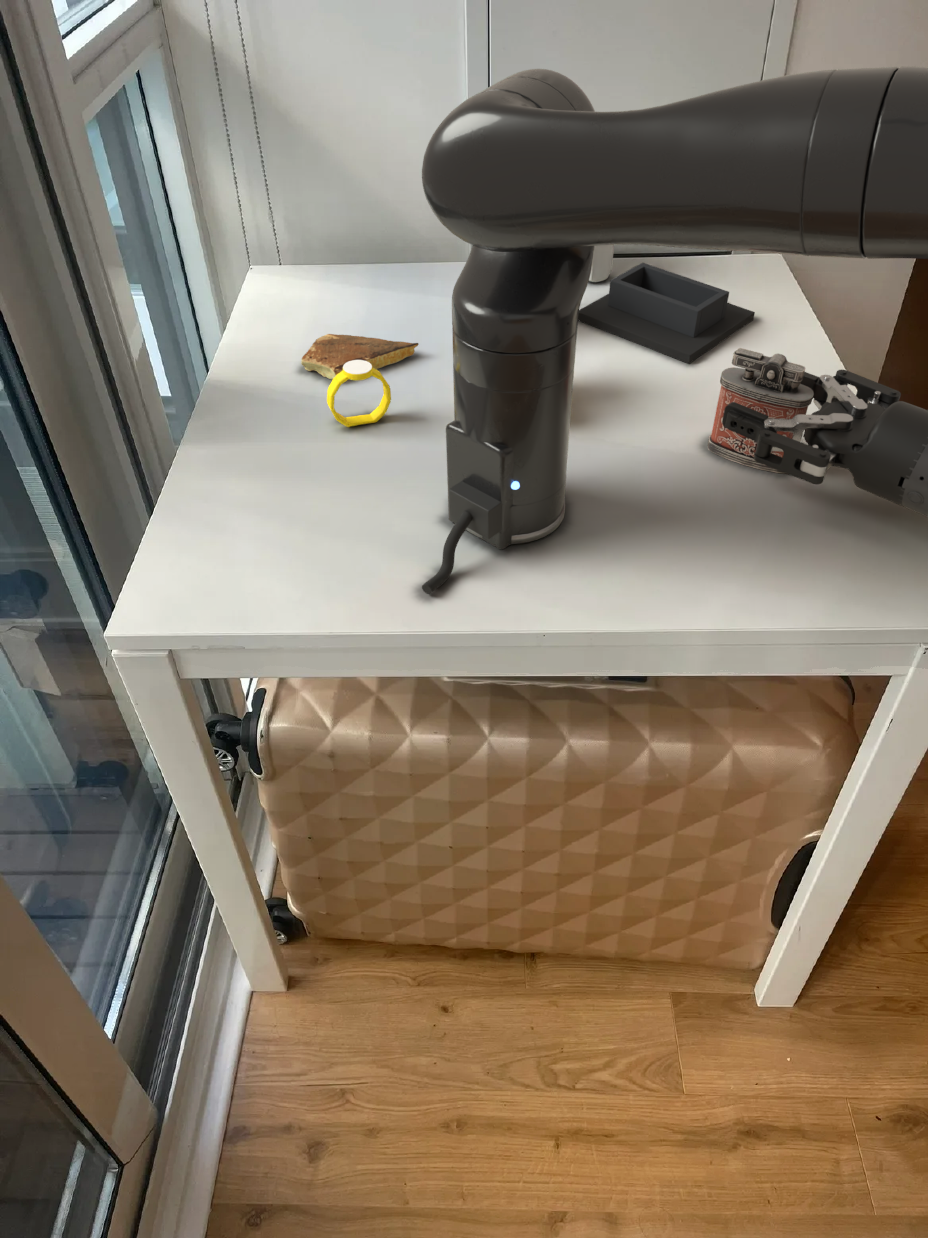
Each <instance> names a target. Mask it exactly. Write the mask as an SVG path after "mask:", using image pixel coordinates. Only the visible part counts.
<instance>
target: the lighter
mask: <svg viewBox="0 0 928 1238" xmlns="http://www.w3.org/2000/svg"><path fill="white" fill-rule="evenodd" d="M731 365H732V366H734V367H728V368H725V369H723V370H722V371H721V375H720V379H719V384H720V390H719V394H718V399H717V405H716V410H715V415H714V419H713V425H712V429H711V434H709V436H708V440H707V445H706V446H707V450H708V451H709V452H710V453H712V454H714V455H717V456H719V457H721V458H724V459H726V460H728V461H731V462H734V463H737V464H740V465H743V466H746V467H750V468H754V469H757V470H762V471H766V472H770V473H771V472H772V473H776V474H785V473H784V472H782V471H779V470H777V469H774V468H771V467H769V466H766V465H764V464H761V463H759V462H756V461H755V460H754V455H755V451H756V447H757V443H756V442H755V441H754V440H751V439H749V438H747V437H744V436H742V435H740V434H737V433H735V432H733V431H730V430H728V429H727V428H725V427H724V426H723V424H722V419H723V415H724V410H725V407H726V406H727V405H728V404H730V403H731V402H735V403H738V404H740V405H743V406H745V407H748V408H750V409H753V410H755V411H757V412H760V413H762V414H765V415H767V416H769V417H768V419H769V418H773V419H792V418H793V417H794V416H795V415H798V414H804V415H807V413H808V408H809V406H810V405H811V404H812V402H813V399H814V398H813V395H814V392H813V390H812V389H811V388H809V387H807V386H805V385H802V384H801V381H802V379H803V376H804V372H806V366H805V365H801V364H798V363H794V362H791V361H788V359H787V356H785V355H784V354H781V353H774V354H773V355H772V356H767V355H764V353H761V352H758V351H755V350H751V349H746V348H744V347H743V348H742V347H739V348H736V350H734V352H733V354H732V360H731ZM812 398H813V399H812ZM777 433H778V434H780V435H783V436H786V437H788V436H789V433H790V432H782V431H777ZM771 453H772V454H775V455H777V456H780V457H782V458H783V454H784V452H778V451H771Z"/></svg>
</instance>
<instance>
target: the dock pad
mask: <svg viewBox="0 0 928 1238" xmlns="http://www.w3.org/2000/svg"><path fill="white" fill-rule="evenodd" d="M729 296H730V291H728V290H726V289H723V288H720V287H716V286H713V285H711V284H708V283H705V282H701V281H699V280H696V279H692V278H690V277H686V276H685V275H682V274H678V273H675V272H672V271H670V270H666V269H663V268H660V267H657V266H654V265H651V264H648V263H645V262H641V263H639V264H637V265H636V266H634V267H631V268H630V269H628V270H626V271H625V272H623V273H621V274H619V275H618V276H616V277H614V278H612V279H610V281H609V290H608V293H607V294H606V295H604V296H601V297H600V298H598V299H596V300H594V301H593V302H591V303H590V304H588V305H585V306H584V307H582V308H581V309H580V308H579V314H578V322H581V323H583V324H586V325H588V326H591V327H594V328H597V329H599V330H601V331H604V332H606V333H609V334H611V335H614V336H617V337H620V338H622V339H625V340H627V341H630V342H633V343H635V344H637V345H639V346H642V347H645V348H648V349H649V350H653V351H655V352H658V353H661V354H663V355H665V356H668V357H671V358H673V359H676V360H677V361H681V362H683V363H685V364H689V365H690V363H692V362H694V361H695V360H697V359H698V358H700V357H701V356H703V355H704V354H706V353H707V352H708V351H710V350H712V349H713V348H714V347H716V346H717V345H719V344H720V343H723V341H725V340H726V339H728V338H729V337H731V336H732V335H734V334H735V333H736V332H738V331H739V330H741V329H743V328H745V326H747V325H749V324H750V323H752V322H753V321H754V319H755V315H756V313H755V311H753V310H750V309H747V308H744V307H741V306H738V305H736V304H733V303H731V302H728V301H729Z"/></svg>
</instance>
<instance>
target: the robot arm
mask: <svg viewBox="0 0 928 1238" xmlns="http://www.w3.org/2000/svg"><path fill="white" fill-rule="evenodd" d="M421 183H422V188H423V193H424V196H425V199H426V201H427V203H428V206H429V207H430V210H431V212H432V213H433V215H434V216H435V217H436V218H437V219H438V221H439V222H440V223H441V225H442V226H444V227H445V229H447V230H448V231H449V232H450V233H451V234H452V235H454V236H456V237H457V238H459V239H460V240H461V241H463V242H465V243H467V244H469V245H471V250H470V252H469V255H468V257H467V260H466V262H465V264H464V266H463V267H462V269H461V272H460V274H459V276H458V278H457V279H456V282H455V284H454V286H453V289H452V294H451V325H452V326H451V327H452V329H451V330H452V331H451V332H452V373H453V375H452V376H453V413H454V416H453V417H454V418H453V419H454V420H452V421H450V422H448V424H447V425H446V426H445V445H446V446H445V447H446V477H447V478H446V479H447V480H446V481H447V507H448V508H447V509H448V521H450V522H452V523H453V524H454V525H453V526H452V528H451V530H450V531H449V533H448V535H447V538H446V539H445V541H444V545H443V549H442V562H441V566H440V568H439V570H438V571H437V573H436V574H435V575H434V576H432V577H431V578H429V579H428V580H426V582H424V583H423V584H422V585H421V589H422V591H423V592H424V593H425V594H426V595H431V594H432V593H433V592H434V591H435V590H437V589H438V588H440V587H441V586H442V585H443V584H445V583H446V581H447V580H448V579H449V577H450V576H451V574H452V572H453V570H454V566H455V554H456V549H457V546H458V544H459V541H460V540H461V538H462V536H463V534H464V533H465V532H466V531H467V532H469V533H470V534H472V536H475V537H477V538H479V539H481V540H483V541H484V542H486V543H488V544H490V545H492V546H493V547H495V548H497V549H499V550H505V549H506V548H507V547H509V546H511V545H515V544H525V543H530V542H535V541H537V540H540V539H542V538H545V537H547V536H549V535H550V534H552V533H553V532H554V531H555V530H557V528H559V526H560V525H561V524H562V523H563V520H564V518H565V514H566V485H567V483H566V482H567V471H568V470H567V469H568V458H569V457H568V456H569V443H570V429H571V417H572V416H571V415H572V403H573V388H574V377H575V363H576V354H577V353H576V352H577V341H578V340H577V338H578V337H577V336H578V325H579V321H578V314H579V310H580V307H581V303H582V300H583V299H584V298H583V297H584V295H585V292H586V290H587V287H588V284H589V282H590V281H589V278H590V274H591V268H592V262H593V254H594V246H597V245H614V246H619V245H627V246H628V245H630V246H631V245H634V246H635V245H637V246H638V245H639V246H640V245H641V246H657V247H668V248H669V247H670V248H682V249H693V250H694V249H696V250H710V251H711V250H712V251H731V252H750V253H751V252H752V253H769V254H780V255H781V254H782V255H790V256H791V255H792V256H801V257H802V256H803V257H821V258H822V257H823V258H824V257H826V258H844V259H845V258H849V259H869V260H871V259H872V260H873V259H875V260H876V259H877V260H878V259H914V260H915V259H919V260H921V259H922V260H928V66H916V65H915V66H900V67H899V66H888V67H884V66H883V67H863V68H862V67H861V68H841V69H839V68H838V69H823V70H822V69H821V70H815V71H807V72H800V73H799V72H798V73H793V74H786V75H782V76H776V77H771V78H767V79H762V80H758V81H753V82H749V83H745V84H741V85H737V86H732V87H728V88H723V89H719V90H715V91H712V92H708V93H705V94H701V95H698V96H694V97H693V96H692V97H690V98H686V99H682V100H678V101H675V102H671V103H667V104H663V105H658V106H652V107H647V108H641V109H632V110H631V109H630V110H621V111H619V110H618V111H617V110H616V111H596V110H595V108H594V106H593V103H592V102H591V100H590V98H589V97H588V96H587V94H586V92H585V91H584V90H583V89H582V88H581V87H580V86H579V85H578V83H576V82H575V81H573V80H572V79H571V78H569V77H568V76H566V75H564V74H563V73H560V72H557V71H555V70H552V69H548V68H547V69H546V68H530V69H525V70H521V71H518V72H516V73H513V74H511V75H509V76H507V77H505V78H503V79H501V80H499V81H497V82H495V83H494V84H492V85H490V86H489V87H486V88H485V89H483V90H481V91H480V92H477V93H476V94H474V95H472V96H471V97H468V98H467V99H466V100H464V101H463V102H461V103H460V104H458V105H457V106H456V107H455V108H453V109H452V110H451V111H450V112H449V113H448V115H446V117H444V119H443V120H442V121H441V122H440V123H439V125H438V126H437V128H436V129H435V130H434V132H433V134H432V135H431V137H430V139H429V142H428V143H427V146H426V148H425V152H424V155H423V159H422V166H421ZM801 384H802V385H805V386H807V387H809V388H811V389H812V390H813V392H814V395H813V398H812V402H813V404H814V405H815V407H816V408H817V409H818V410H817V411H814V412H812V413H811V414H806V415H804V414H798V415H795V416H794V417H793V418H792V419H773V418H769V419H768V417H769V416H767V415H765V414H762V413H760V412H757V411H755V410H753V409H750V408H748V407H745V406H743V405H740V404H738V403H735V402H731V403H730V404H728V405H727V406H726V407H725V410H724V415H723V419H722V424H723V426H724V427H725V428H727V429H728V430H730V431H733V432H735V433H737V434H740V435H742V436H744V437H747V438H749V439H751V440H754V441H755V442H756V443H757V447H756V451H755V455H754V460H755V461H756V462H759V463H761V464H764V465H766V466H769V467H771V468H774V469H777V470H779V471H782V472H784V473H783V474H787V475H790V476H792V477H794V478H797V479H799V480H802V481H805V482H808V483H810V484H812V485H821V484H823V482H824V480H825V477H826V475H827V472H828V471H829V469H830V468H831V467H836V468H841V469H845V470H848V471H849V472H850V473H851V475H852V480H853V483H854V485H855V486H856V487H857V488H859V489H860V490H863V491H866V492H868V493H870V494H873V495H874V496H877V497H880V498H883V499H885V500H886V501H889V502H891V503H894V504H896V505H898V506H901V507H903V508H906V509H908V510H911V511H912V512H915V513H917V514H919V515H922V516H925V517H926V518H928V409H925V408H922V407H920V406H917V405H914V404H911V403H909V402H906V401H903V400H900V399H901V397H902V393H901V392H900V390H898V389H894V388H892V387H889V386H887V385H884V384H882V383H879V382H876V381H874V380H872V379H869V378H867V377H864V376H863V375H859V374H857V373H854V372H853V371H850V370H847V369H838V370H836V372H835V375H830V374H822V375H820V376H817V375H815V374H813V373H810V372H807V371H805V372H804V376H803V379H802V381H801ZM848 385H850V386H852V387H855V388H856V394H855V393H854V391H852V390H851V388H850V387H849V386H848ZM777 431H782V432H790V433H789V436H788V437H786V436H783V435H780V434H778V433H777ZM802 437H803V438H804V441H805V442H806V443H804V442H801V440H802ZM771 451H778V452H784V454H783V458H782V457H780V456H777V455H775V454H772V453H771Z"/></svg>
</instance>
